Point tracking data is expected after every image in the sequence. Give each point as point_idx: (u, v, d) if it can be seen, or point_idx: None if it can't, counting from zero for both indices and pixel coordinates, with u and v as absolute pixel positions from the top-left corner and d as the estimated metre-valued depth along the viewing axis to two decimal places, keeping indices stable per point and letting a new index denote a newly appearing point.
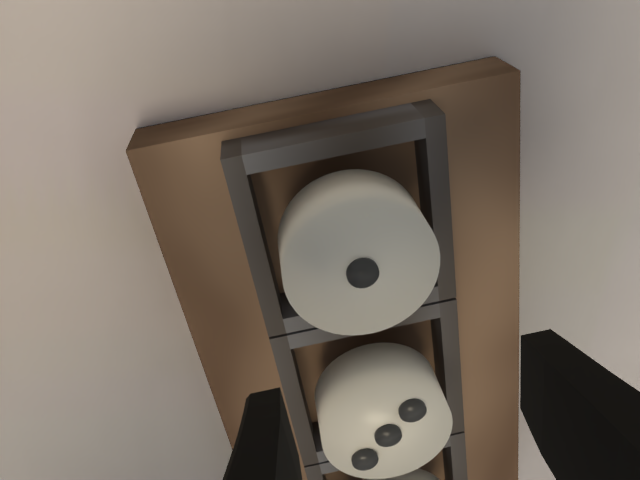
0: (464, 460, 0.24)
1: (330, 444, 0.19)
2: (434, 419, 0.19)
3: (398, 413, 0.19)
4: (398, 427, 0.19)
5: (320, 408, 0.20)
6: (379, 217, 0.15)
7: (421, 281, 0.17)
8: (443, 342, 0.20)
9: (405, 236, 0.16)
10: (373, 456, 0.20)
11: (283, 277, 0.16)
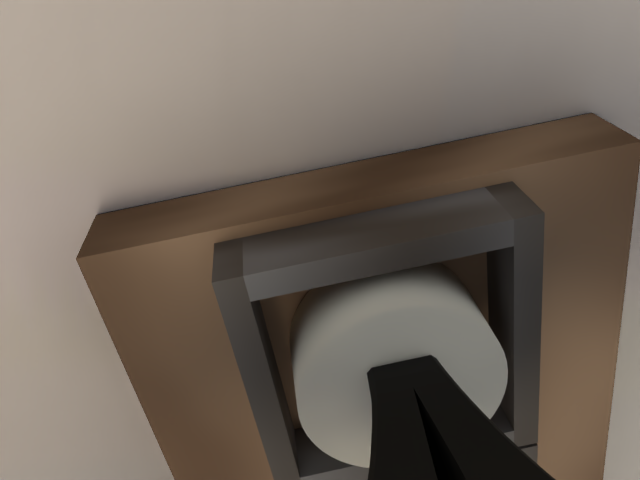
0: None
1: None
2: None
3: None
4: None
5: None
6: (429, 329, 0.11)
7: (481, 403, 0.12)
8: None
9: (464, 350, 0.12)
10: None
11: (299, 405, 0.12)
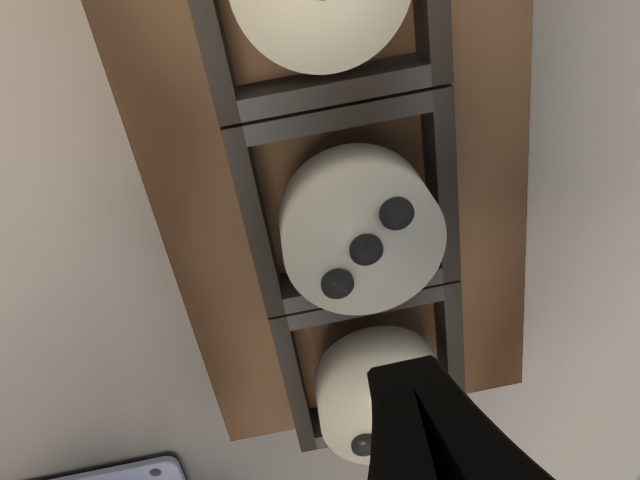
0: (460, 321, 0.20)
1: (294, 259, 0.15)
2: (424, 230, 0.15)
3: (379, 217, 0.15)
4: (379, 239, 0.15)
5: (283, 218, 0.16)
6: None
7: None
8: (437, 149, 0.17)
9: None
10: (348, 279, 0.16)
11: None
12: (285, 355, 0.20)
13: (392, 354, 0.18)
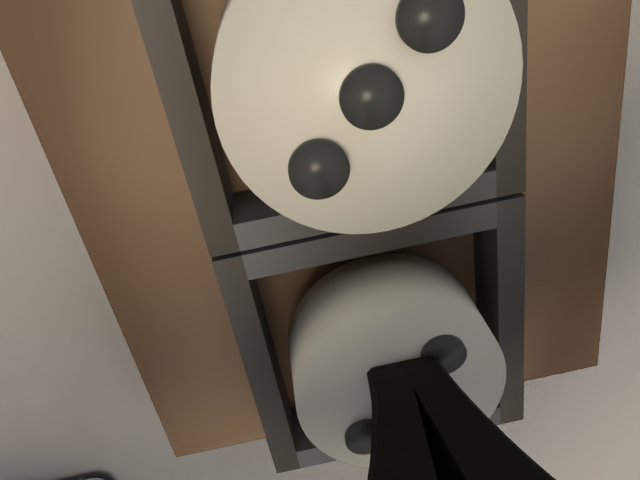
0: (521, 263, 0.13)
1: (235, 117, 0.08)
2: (480, 59, 0.08)
3: (395, 25, 0.08)
4: (395, 76, 0.08)
5: None
6: None
7: None
8: None
9: None
10: (338, 161, 0.09)
11: None
12: (243, 321, 0.12)
13: (408, 291, 0.11)
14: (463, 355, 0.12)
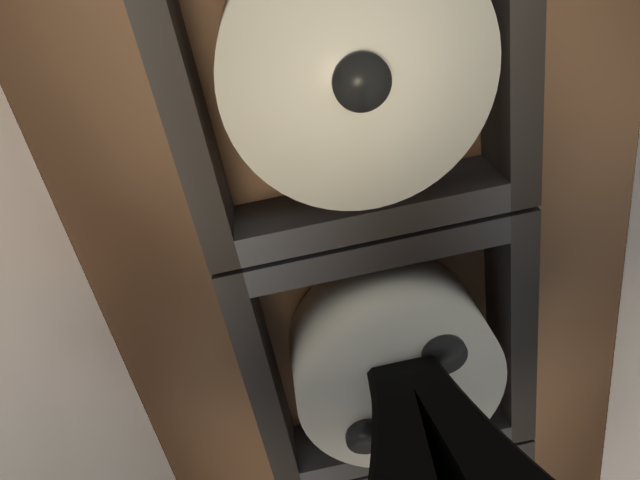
0: None
1: (311, 411, 0.12)
2: (478, 371, 0.12)
3: None
4: None
5: (296, 355, 0.12)
6: None
7: (465, 106, 0.09)
8: (513, 289, 0.12)
9: (441, 7, 0.09)
10: None
11: (217, 87, 0.09)
12: None
13: None
14: None
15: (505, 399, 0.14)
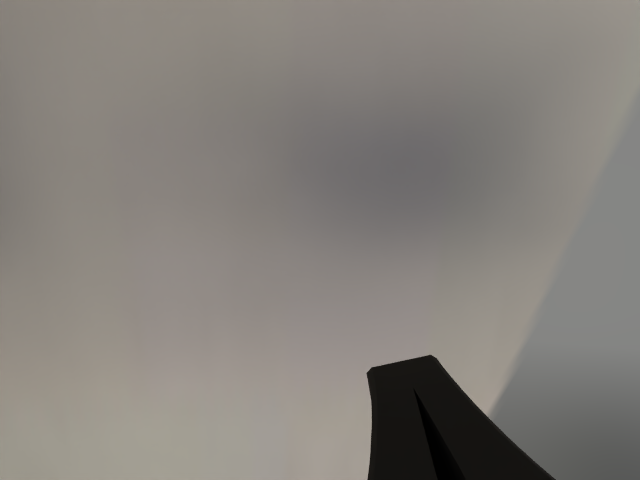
0: None
1: None
2: None
3: None
4: None
5: None
6: None
7: None
8: None
9: None
10: None
11: None
12: None
13: None
14: None
15: None
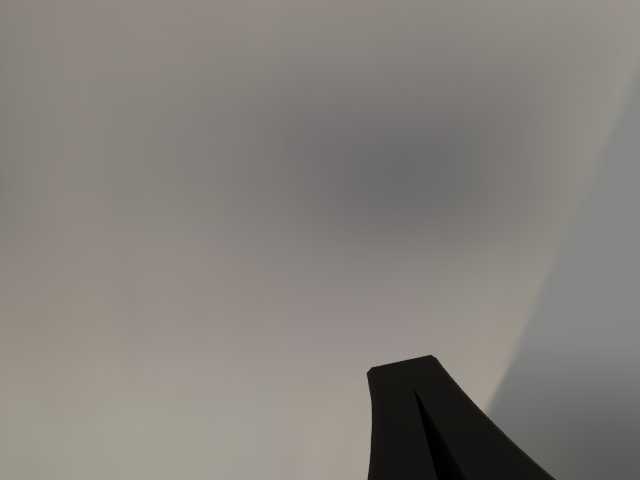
0: None
1: None
2: None
3: None
4: None
5: None
6: None
7: None
8: None
9: None
10: None
11: None
12: None
13: None
14: None
15: None
